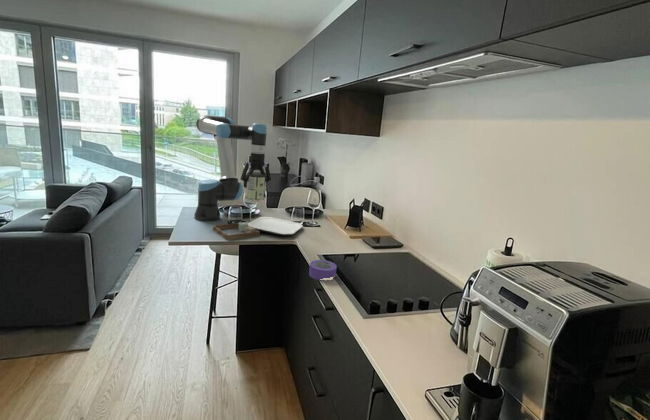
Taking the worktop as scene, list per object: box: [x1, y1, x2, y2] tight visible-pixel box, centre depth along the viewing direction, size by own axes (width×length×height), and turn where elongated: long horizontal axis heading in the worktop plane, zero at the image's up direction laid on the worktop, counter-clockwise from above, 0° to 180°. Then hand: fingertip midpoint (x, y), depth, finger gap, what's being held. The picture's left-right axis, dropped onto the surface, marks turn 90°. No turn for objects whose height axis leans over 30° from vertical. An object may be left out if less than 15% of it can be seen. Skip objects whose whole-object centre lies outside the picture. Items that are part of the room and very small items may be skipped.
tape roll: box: [308, 259, 338, 281], centre depth 148 cm, size 12×12×5 cm
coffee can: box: [245, 171, 267, 202], centre depth 187 cm, size 10×10×14 cm
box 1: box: [237, 221, 248, 232], centre depth 194 cm, size 4×4×4 cm
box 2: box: [244, 226, 255, 233], centre depth 189 cm, size 4×4×4 cm
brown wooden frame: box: [212, 222, 261, 241], centre depth 188 cm, size 18×19×2 cm
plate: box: [246, 216, 304, 237], centre depth 203 cm, size 29×29×2 cm
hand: (255, 193), depth 188 cm, fingers closed on coffee can, 10 cm apart
